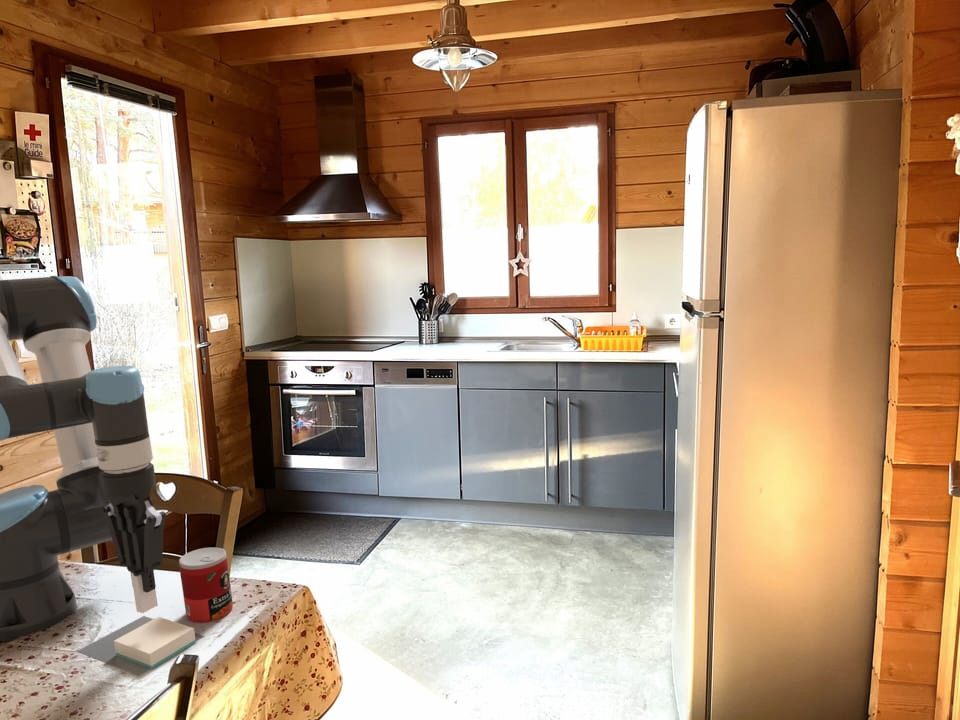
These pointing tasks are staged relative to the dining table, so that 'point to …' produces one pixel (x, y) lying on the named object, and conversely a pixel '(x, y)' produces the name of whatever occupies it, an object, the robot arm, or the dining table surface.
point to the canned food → (206, 584)
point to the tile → (154, 642)
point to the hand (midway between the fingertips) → (147, 608)
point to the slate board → (106, 648)
